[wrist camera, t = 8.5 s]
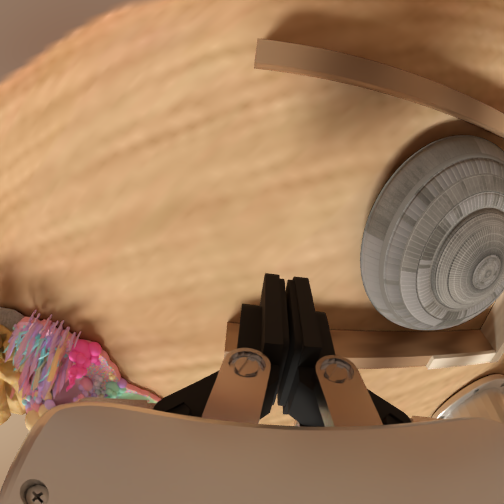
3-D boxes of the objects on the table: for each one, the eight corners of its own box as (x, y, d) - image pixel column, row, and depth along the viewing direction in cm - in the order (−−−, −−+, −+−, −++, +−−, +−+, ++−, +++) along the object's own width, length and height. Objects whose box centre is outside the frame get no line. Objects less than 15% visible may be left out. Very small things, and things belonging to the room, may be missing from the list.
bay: (554, 151, 16) (582, 163, 13) (482, 338, 25) (497, 361, 22) (256, 48, 14) (257, 36, 11) (226, 334, 23) (223, 368, 20)
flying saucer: (447, 334, 24) (472, 376, 20) (313, 282, 22) (328, 336, 17) (536, 198, 18) (578, 224, 13) (423, 86, 15) (476, 90, 10)
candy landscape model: (-1, 389, 31) (-26, 435, 23) (-22, 265, 21) (-79, 323, 13) (152, 461, 36) (142, 515, 28) (212, 380, 27) (203, 471, 19)
